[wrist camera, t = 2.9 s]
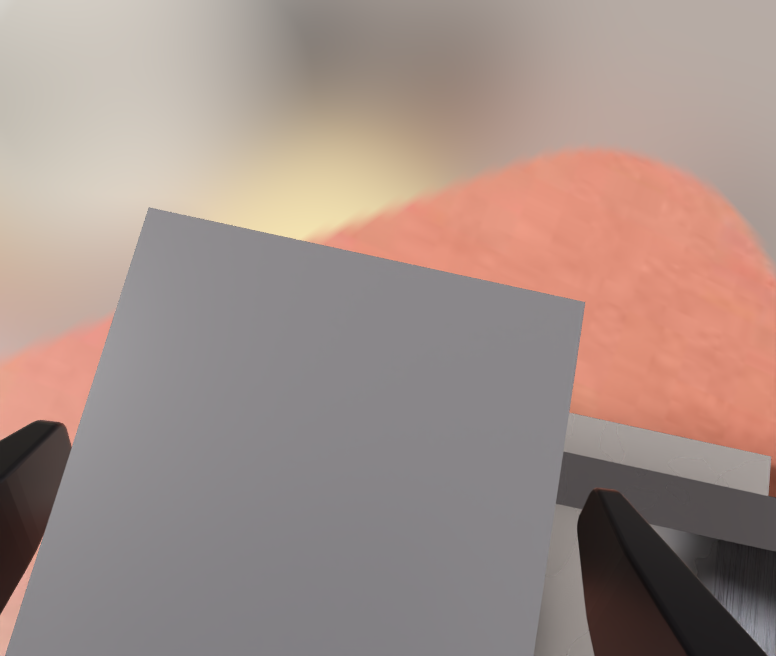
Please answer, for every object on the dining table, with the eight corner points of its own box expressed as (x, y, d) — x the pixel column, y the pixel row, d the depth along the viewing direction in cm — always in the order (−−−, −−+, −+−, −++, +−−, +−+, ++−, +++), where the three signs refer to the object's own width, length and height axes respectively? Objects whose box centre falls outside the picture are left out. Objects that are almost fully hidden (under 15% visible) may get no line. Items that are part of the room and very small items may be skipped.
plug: (406, 545, 17) (511, 804, 5) (259, 512, 17) (-7, 693, 5) (434, 397, 18) (585, 302, 6) (295, 367, 18) (149, 207, 6)
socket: (704, 853, 16) (836, 1012, 11) (400, 787, 16) (415, 920, 11) (737, 455, 18) (859, 459, 14) (471, 397, 18) (506, 382, 14)
